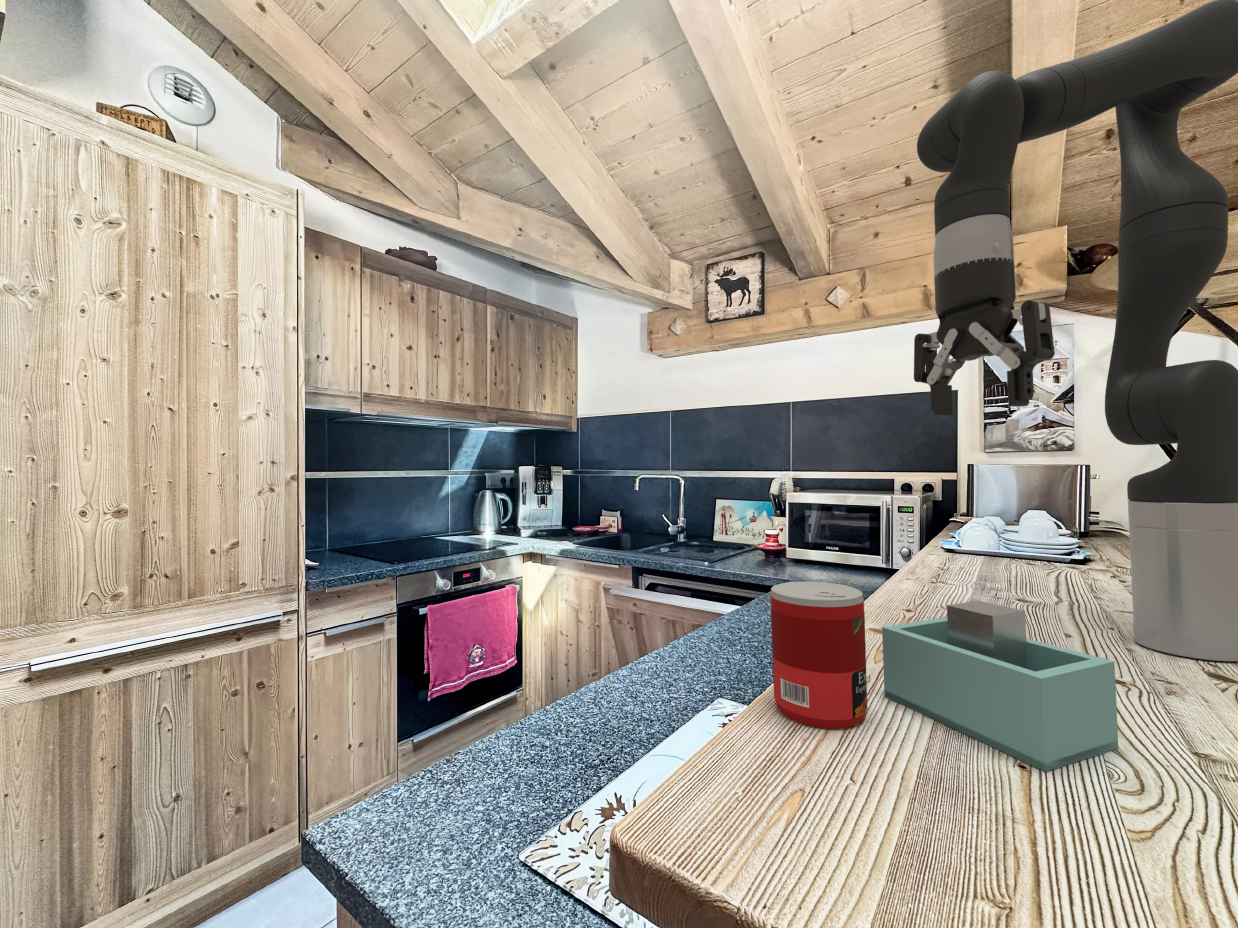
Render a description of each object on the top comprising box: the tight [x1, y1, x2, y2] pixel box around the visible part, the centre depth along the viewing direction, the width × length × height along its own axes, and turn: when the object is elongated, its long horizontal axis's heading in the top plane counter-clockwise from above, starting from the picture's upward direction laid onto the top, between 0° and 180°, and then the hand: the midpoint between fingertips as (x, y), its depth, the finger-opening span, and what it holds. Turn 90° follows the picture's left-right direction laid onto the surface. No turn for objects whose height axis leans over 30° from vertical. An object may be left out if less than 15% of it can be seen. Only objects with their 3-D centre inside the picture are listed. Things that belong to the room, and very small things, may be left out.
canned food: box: [770, 581, 868, 730], centre depth 48 cm, size 8×8×11 cm
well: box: [881, 616, 1119, 773], centre depth 45 cm, size 8×14×7 cm, turn 20°
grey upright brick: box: [946, 600, 1027, 669], centre depth 45 cm, size 4×4×9 cm
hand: (978, 411), depth 59 cm, fingers open, 8 cm apart
